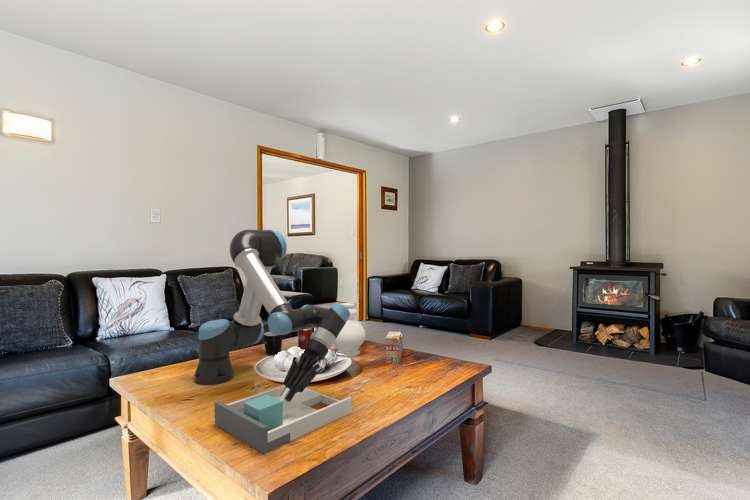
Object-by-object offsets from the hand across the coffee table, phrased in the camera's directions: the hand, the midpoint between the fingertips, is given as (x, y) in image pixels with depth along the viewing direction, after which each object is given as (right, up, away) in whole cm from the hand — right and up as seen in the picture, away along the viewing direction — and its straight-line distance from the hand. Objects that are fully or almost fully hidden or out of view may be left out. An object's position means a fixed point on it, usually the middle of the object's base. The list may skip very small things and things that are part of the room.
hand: (278, 409), depth 121 cm
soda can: (-6, -4, +83) cm, 83 cm away
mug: (-21, -4, +78) cm, 81 cm away
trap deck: (+1, -5, +7) cm, 9 cm away
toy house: (+39, -4, +74) cm, 84 cm away
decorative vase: (+16, -4, +80) cm, 82 cm away
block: (-4, -3, -4) cm, 6 cm away
